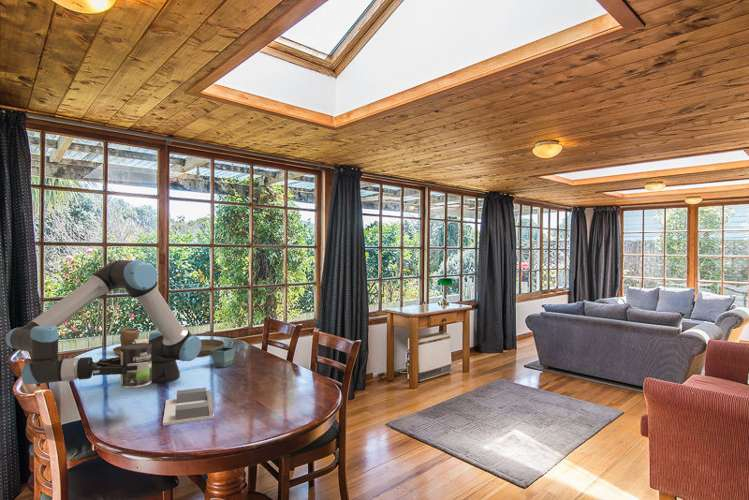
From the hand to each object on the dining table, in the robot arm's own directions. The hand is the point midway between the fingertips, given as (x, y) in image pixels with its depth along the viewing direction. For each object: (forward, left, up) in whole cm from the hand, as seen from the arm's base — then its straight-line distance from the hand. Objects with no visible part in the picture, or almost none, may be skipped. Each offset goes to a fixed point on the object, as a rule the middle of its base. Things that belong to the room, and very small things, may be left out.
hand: (149, 362), depth 161 cm
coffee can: (-3, -3, -8) cm, 9 cm away
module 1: (+4, +17, -19) cm, 25 cm away
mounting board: (+10, +10, -20) cm, 24 cm away
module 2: (+17, +4, -19) cm, 25 cm away
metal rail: (+15, +15, -19) cm, 28 cm away
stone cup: (-91, +63, -20) cm, 113 cm away
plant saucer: (-57, +83, -20) cm, 103 cm away
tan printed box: (-68, +53, -20) cm, 89 cm away
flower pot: (-21, +64, -20) cm, 70 cm away
